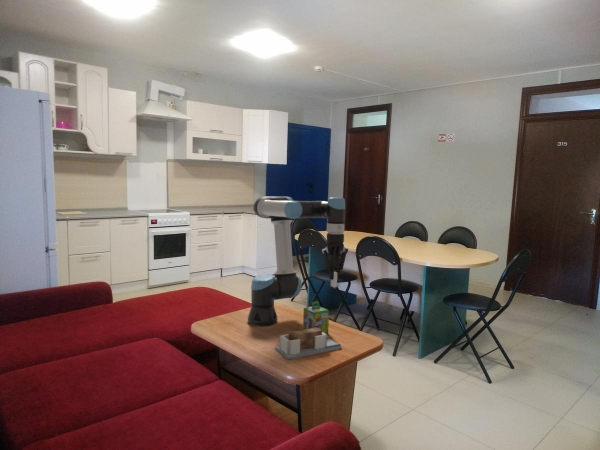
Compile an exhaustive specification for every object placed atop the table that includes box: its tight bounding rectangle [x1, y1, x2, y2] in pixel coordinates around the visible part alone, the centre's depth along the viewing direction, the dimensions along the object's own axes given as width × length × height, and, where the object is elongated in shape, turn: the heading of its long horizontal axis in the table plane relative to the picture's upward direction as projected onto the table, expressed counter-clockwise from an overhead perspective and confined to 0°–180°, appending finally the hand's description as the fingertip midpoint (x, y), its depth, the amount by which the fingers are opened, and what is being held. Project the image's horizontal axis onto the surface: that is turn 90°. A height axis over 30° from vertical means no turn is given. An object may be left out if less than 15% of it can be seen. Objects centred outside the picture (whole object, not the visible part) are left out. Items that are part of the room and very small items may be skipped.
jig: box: [274, 333, 343, 360], centre depth 172 cm, size 12×26×6 cm, turn 118°
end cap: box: [314, 332, 328, 349], centre depth 174 cm, size 8×6×5 cm
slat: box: [288, 328, 322, 350], centre depth 171 cm, size 14×4×7 cm, turn 118°
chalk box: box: [302, 300, 330, 335], centre depth 192 cm, size 9×9×15 cm
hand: (333, 286), depth 176 cm, fingers closed
